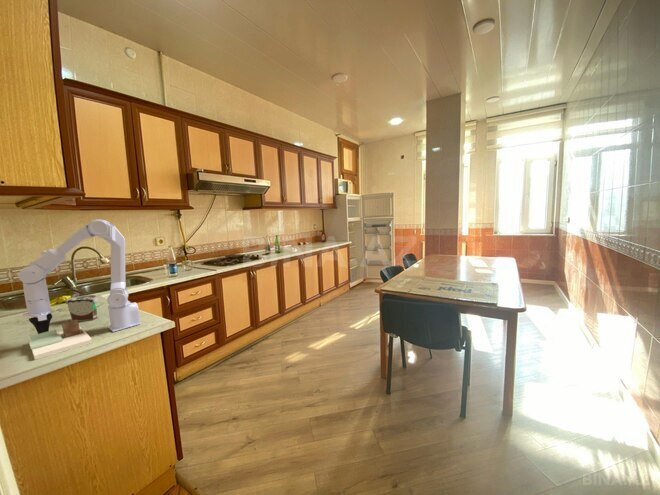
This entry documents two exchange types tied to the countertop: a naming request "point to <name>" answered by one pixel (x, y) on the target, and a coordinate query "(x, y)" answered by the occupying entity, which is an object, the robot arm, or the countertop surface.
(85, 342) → the puzzle board
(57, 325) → the countertop surface
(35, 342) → the lid
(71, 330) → the walnut block
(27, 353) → the countertop surface
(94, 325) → the countertop surface
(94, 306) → the food container
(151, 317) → the countertop surface
